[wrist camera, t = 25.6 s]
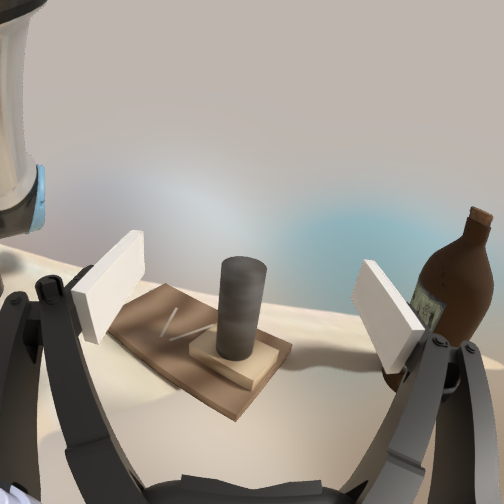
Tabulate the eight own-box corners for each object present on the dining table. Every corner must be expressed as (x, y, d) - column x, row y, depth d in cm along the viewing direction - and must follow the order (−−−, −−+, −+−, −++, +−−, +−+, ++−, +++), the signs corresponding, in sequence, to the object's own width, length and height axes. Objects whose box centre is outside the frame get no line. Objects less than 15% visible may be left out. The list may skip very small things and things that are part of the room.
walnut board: (101, 325, 35) (99, 317, 34) (165, 290, 46) (165, 283, 46) (235, 421, 25) (236, 414, 24) (290, 351, 36) (292, 343, 36)
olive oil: (424, 353, 36) (483, 208, 26) (445, 399, 27) (533, 235, 17) (370, 352, 37) (428, 189, 27) (386, 405, 27) (479, 213, 17)
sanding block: (189, 355, 31) (188, 260, 26) (218, 332, 36) (225, 244, 31) (251, 391, 28) (270, 296, 22) (276, 361, 32) (298, 270, 27)
